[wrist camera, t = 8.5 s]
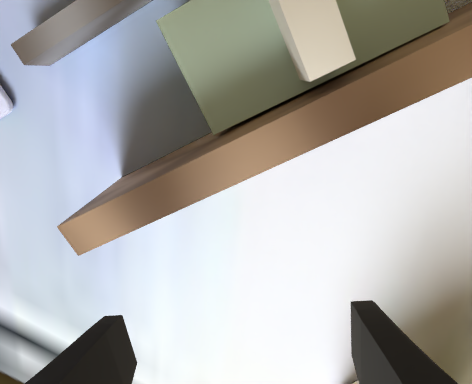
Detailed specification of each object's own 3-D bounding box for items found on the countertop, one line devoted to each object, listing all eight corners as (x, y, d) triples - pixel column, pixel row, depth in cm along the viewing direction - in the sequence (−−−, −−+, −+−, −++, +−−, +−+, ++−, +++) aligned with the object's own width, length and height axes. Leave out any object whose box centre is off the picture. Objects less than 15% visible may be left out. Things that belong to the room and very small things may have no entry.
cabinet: (223, 121, 18) (201, 150, 11) (179, 32, 16) (126, 6, 10) (405, 33, 16) (507, 6, 9) (372, -78, 14) (465, -204, 8)
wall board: (134, 199, 20) (78, 255, 14) (38, 47, 17) (-87, 34, 11) (574, -12, 14) (802, -73, 8) (535, -280, 12) (827, -653, 6)
